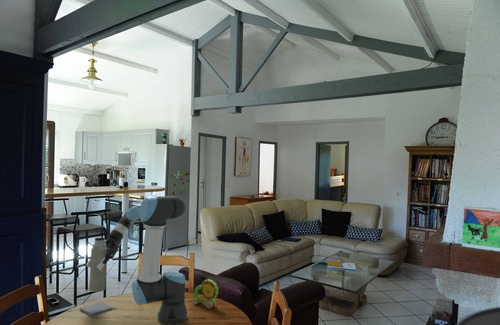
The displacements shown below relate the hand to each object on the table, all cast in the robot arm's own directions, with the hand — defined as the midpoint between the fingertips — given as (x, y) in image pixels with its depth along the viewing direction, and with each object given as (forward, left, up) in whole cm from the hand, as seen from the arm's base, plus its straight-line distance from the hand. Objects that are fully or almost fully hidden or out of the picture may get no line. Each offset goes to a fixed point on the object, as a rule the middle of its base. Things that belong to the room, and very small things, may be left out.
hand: (93, 267), depth 183 cm
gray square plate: (0, -3, -23) cm, 24 cm away
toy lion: (-40, -47, -24) cm, 66 cm away
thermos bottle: (+1, -3, -13) cm, 13 cm away
